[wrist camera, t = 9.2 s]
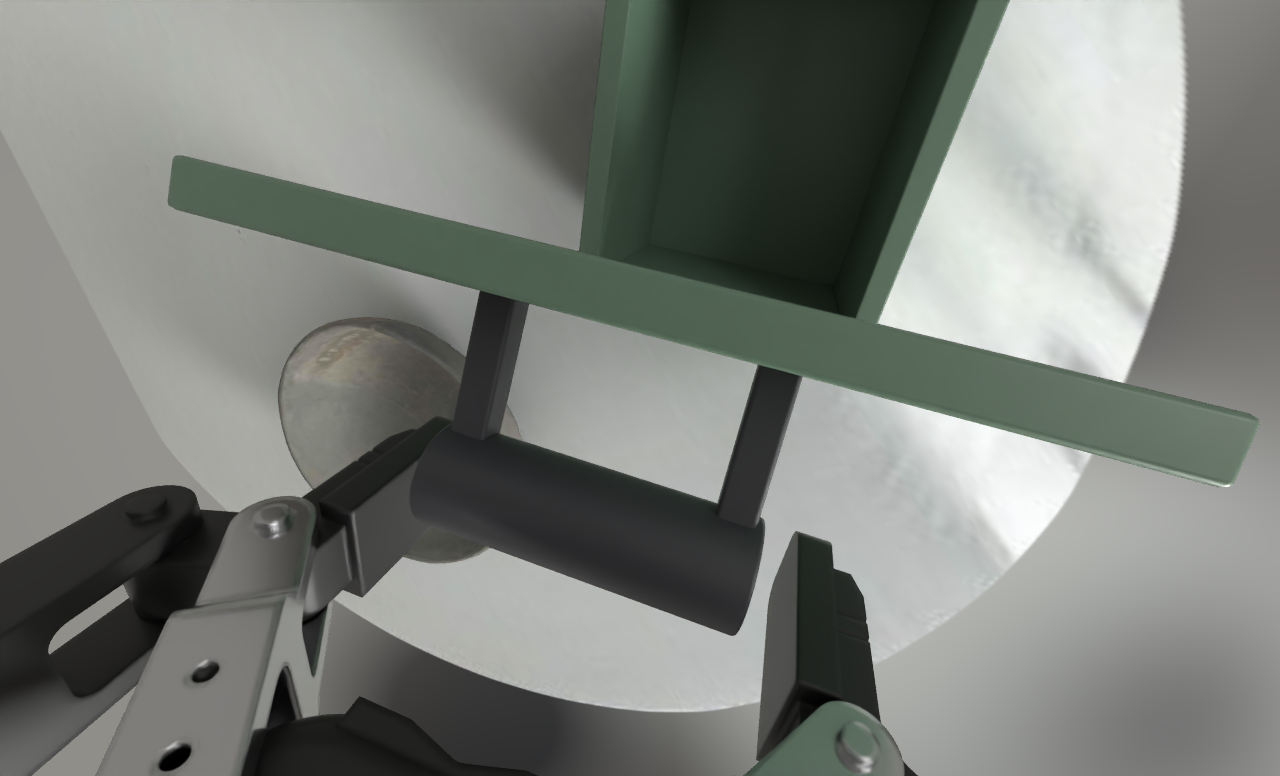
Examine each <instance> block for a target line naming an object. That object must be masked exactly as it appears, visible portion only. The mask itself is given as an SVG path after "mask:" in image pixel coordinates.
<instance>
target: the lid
mask: <svg viewBox="0 0 1280 776" xmlns="http://www.w3.org/2000/svg"><path fill="white" fill-rule="evenodd" d="M168 204H169V206H171V207H172V208H174V209H176V210H180V211H184V212H187V213H191V214H195V215H199V216H202V217H206V218H210V219H214V220H217V221H221V222H225V223H229V224H232V225H236V226H240V227H244V228H247V229H251V230H255V231H259V232H262V233H266V234H270V235H274V236H277V237H281V238H285V239H289V240H292V241H296V242H300V243H304V244H307V245H311V246H315V247H319V248H322V249H326V250H330V251H334V252H337V253H341V254H345V255H349V256H352V257H356V258H360V259H364V260H368V261H371V262H375V263H379V264H383V265H386V266H390V267H394V268H398V269H401V270H405V271H409V272H413V273H416V274H420V275H424V276H428V277H431V278H435V279H439V280H443V281H446V282H450V283H454V284H458V285H461V286H465V287H469V288H473V289H476V290H480V293H479V298H478V303H477V308H476V313H475V317H474V322H473V327H472V332H471V336H470V341H469V346H468V351H467V356H466V360H465V365H464V370H463V375H462V379H461V384H460V389H459V394H458V398H457V403H456V408H455V413H454V418H453V422H452V424H450V425H448V426H446V427H445V428H443V429H442V430H441V431H440V432H439V433H438V434H437V435H436V436H435V437H434V438H433V439H432V440H431V442H430V443H429V444H428V446H427V447H426V449H425V451H424V452H423V454H422V456H421V458H420V460H419V462H418V464H417V467H416V469H415V472H414V475H413V478H412V482H411V487H410V496H409V501H410V509H411V512H412V514H413V516H414V517H415V518H416V519H417V520H418V521H420V522H422V523H424V524H427V525H430V526H432V527H435V528H438V529H441V530H443V531H446V532H449V533H452V534H454V535H457V536H460V537H463V538H465V539H468V540H471V541H473V542H476V543H479V544H482V545H484V546H487V547H490V548H493V549H495V550H498V551H501V552H504V553H506V554H509V555H512V556H514V557H517V558H520V559H523V560H525V561H528V562H531V563H534V564H536V565H539V566H542V567H545V568H547V569H550V570H553V571H555V572H558V573H561V574H564V575H566V576H569V577H572V578H575V579H577V580H580V581H583V582H586V583H588V584H591V585H594V586H596V587H599V588H602V589H605V590H607V591H610V592H613V593H616V594H618V595H621V596H624V597H627V598H629V599H632V600H635V601H637V602H640V603H643V604H646V605H648V606H651V607H654V608H657V609H659V610H662V611H665V612H668V613H670V614H673V615H676V616H678V617H681V618H684V619H687V620H689V621H692V622H695V623H698V624H700V625H703V626H706V627H708V628H711V629H714V630H717V631H719V632H722V633H725V634H728V635H730V636H734V635H736V634H737V632H738V631H739V629H740V628H741V626H742V623H743V621H744V618H745V616H746V613H747V610H748V607H749V604H750V600H751V597H752V594H753V590H754V586H755V582H756V579H757V574H758V570H759V566H760V561H761V556H762V550H763V544H764V536H765V522H764V519H762V518H761V517H760V515H761V512H762V508H763V505H764V502H765V499H766V495H767V492H768V489H769V485H770V482H771V479H772V476H773V472H774V469H775V466H776V462H777V459H778V456H779V453H780V449H781V446H782V443H783V440H784V436H785V433H786V430H787V426H788V423H789V420H790V417H791V413H792V410H793V407H794V403H795V400H796V397H797V394H798V390H799V387H800V384H801V380H802V376H803V377H807V378H810V379H814V380H818V381H822V382H825V383H829V384H833V385H837V386H840V387H844V388H848V389H852V390H855V391H859V392H863V393H867V394H870V395H874V396H878V397H882V398H885V399H889V400H893V401H897V402H900V403H904V404H908V405H912V406H915V407H919V408H923V409H927V410H930V411H934V412H938V413H942V414H945V415H949V416H953V417H957V418H961V419H964V420H968V421H972V422H976V423H979V424H983V425H987V426H991V427H994V428H998V429H1002V430H1006V431H1009V432H1013V433H1017V434H1021V435H1024V436H1028V437H1032V438H1036V439H1039V440H1043V441H1047V442H1051V443H1054V444H1058V445H1062V446H1066V447H1069V448H1073V449H1077V450H1081V451H1084V452H1088V453H1092V454H1096V455H1099V456H1103V457H1107V458H1111V459H1114V460H1118V461H1122V462H1126V463H1129V464H1133V465H1137V466H1141V467H1144V468H1149V469H1152V470H1156V471H1160V472H1163V473H1167V474H1171V475H1175V476H1178V477H1182V478H1186V479H1190V480H1193V481H1197V482H1201V483H1204V484H1208V485H1212V486H1216V487H1229V486H1231V485H1232V484H1233V483H1234V482H1235V480H1236V477H1237V475H1238V473H1239V470H1240V468H1241V466H1242V463H1243V461H1244V459H1245V457H1246V455H1247V452H1248V450H1249V448H1250V445H1251V443H1252V441H1253V439H1254V436H1255V434H1256V432H1257V429H1258V427H1259V419H1257V418H1256V417H1254V416H1253V415H1251V414H1249V413H1244V412H1240V411H1236V410H1232V409H1228V408H1224V407H1220V406H1215V405H1212V404H1207V403H1203V402H1199V401H1195V400H1191V399H1187V398H1183V397H1178V396H1174V395H1170V394H1166V393H1162V392H1157V391H1154V390H1149V389H1145V388H1141V387H1137V386H1133V385H1129V384H1125V383H1121V382H1116V381H1112V380H1108V379H1104V378H1100V377H1096V376H1092V375H1087V374H1083V373H1079V372H1075V371H1071V370H1067V369H1063V368H1058V367H1054V366H1050V365H1046V364H1042V363H1038V362H1034V361H1030V360H1025V359H1021V358H1017V357H1013V356H1009V355H1005V354H1001V353H996V352H992V351H988V350H984V349H980V348H976V347H972V346H967V345H963V344H959V343H955V342H951V341H947V340H943V339H939V338H934V337H930V336H926V335H922V334H918V333H914V332H910V331H905V330H901V329H897V328H893V327H889V326H885V325H881V324H876V323H872V322H868V321H864V320H860V319H856V318H852V317H848V316H843V315H839V314H835V313H831V312H827V311H823V310H819V309H814V308H810V307H806V306H802V305H798V304H794V303H790V302H785V301H781V300H777V299H773V298H769V297H765V296H761V295H757V294H752V293H748V292H744V291H740V290H736V289H732V288H728V287H723V286H719V285H715V284H711V283H707V282H703V281H699V280H694V279H690V278H686V277H682V276H678V275H674V274H670V273H666V272H661V271H657V270H653V269H649V268H645V267H641V266H637V265H632V264H628V263H624V262H620V261H616V260H612V259H608V258H604V257H599V256H595V255H591V254H587V253H583V252H579V251H575V250H570V249H566V248H562V247H558V246H554V245H550V244H546V243H541V242H537V241H533V240H529V239H525V238H521V237H517V236H513V235H508V234H504V233H500V232H496V231H492V230H488V229H484V228H479V227H475V226H471V225H467V224H463V223H459V222H455V221H450V220H446V219H442V218H438V217H434V216H430V215H426V214H422V213H417V212H413V211H409V210H405V209H401V208H397V207H393V206H388V205H384V204H380V203H376V202H372V201H368V200H364V199H359V198H355V197H351V196H347V195H343V194H339V193H335V192H331V191H326V190H322V189H318V188H314V187H310V186H306V185H302V184H297V183H293V182H289V181H285V180H281V179H277V178H273V177H268V176H264V175H260V174H256V173H252V172H248V171H244V170H240V169H235V168H231V167H227V166H223V165H219V164H215V163H211V162H206V161H202V160H198V159H194V158H190V157H186V156H175V157H174V158H173V162H172V170H171V179H170V187H169V195H168ZM529 304H533V305H536V306H540V307H544V308H548V309H551V310H555V311H559V312H563V313H566V314H570V315H574V316H578V317H581V318H585V319H589V320H593V321H596V322H600V323H604V324H608V325H611V326H615V327H619V328H623V329H626V330H630V331H634V332H638V333H641V334H645V335H649V336H653V337H657V338H660V339H664V340H668V341H672V342H675V343H679V344H683V345H687V346H690V347H694V348H698V349H702V350H705V351H709V352H713V353H717V354H720V355H724V356H728V357H732V358H735V359H739V360H743V361H747V362H750V363H754V364H758V366H757V369H756V373H755V376H754V380H753V383H752V386H751V390H750V393H749V397H748V400H747V404H746V407H745V410H744V414H743V417H742V421H741V424H740V428H739V431H738V434H737V438H736V441H735V445H734V448H733V452H732V455H731V459H730V462H729V465H728V469H727V472H726V476H725V479H724V483H723V486H722V489H721V493H720V496H719V500H718V503H714V502H711V501H708V500H705V499H702V498H699V497H696V496H692V495H689V494H686V493H683V492H680V491H677V490H674V489H671V488H667V487H664V486H661V485H658V484H655V483H652V482H649V481H646V480H642V479H639V478H636V477H633V476H630V475H627V474H624V473H621V472H617V471H614V470H611V469H608V468H605V467H602V466H599V465H596V464H592V463H589V462H586V461H583V460H580V459H577V458H574V457H571V456H567V455H564V454H561V453H558V452H555V451H552V450H549V449H546V448H542V447H539V446H536V445H533V444H530V443H527V442H524V441H521V440H518V439H514V438H511V437H508V436H505V435H502V434H500V431H501V427H502V422H503V418H504V413H505V409H506V404H507V400H508V395H509V391H510V386H511V382H512V377H513V373H514V369H515V364H516V360H517V355H518V351H519V346H520V342H521V337H522V333H523V328H524V324H525V319H526V315H527V310H528V306H529Z"/></svg>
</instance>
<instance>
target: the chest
mask: <svg viewBox="0 0 1280 776" xmlns="http://www.w3.org/2000/svg"><path fill="white" fill-rule="evenodd" d="M1009 1H1010V0H606V7H605V16H604V25H603V35H602V44H601V53H600V63H599V72H598V81H597V91H596V100H595V109H594V118H593V128H592V137H591V146H590V156H589V165H588V174H587V184H586V193H585V202H584V212H583V221H582V230H581V239H580V249H579V252H583V253H587V254H591V255H595V256H599V257H604V258H608V259H612V260H616V261H620V262H624V263H628V264H632V265H637V266H641V267H645V268H649V269H653V270H657V271H661V272H666V273H670V274H674V275H678V276H682V277H686V278H690V279H694V280H699V281H703V282H707V283H711V284H715V285H719V286H723V287H728V288H732V289H736V290H740V291H744V292H748V293H752V294H757V295H761V296H765V297H769V298H773V299H777V300H781V301H785V302H790V303H794V304H798V305H802V306H806V307H810V308H814V309H819V310H823V311H827V312H831V313H835V314H839V315H843V316H848V317H852V318H856V319H860V320H864V321H868V322H872V323H876V324H878V321H879V319H880V316H881V314H882V311H883V309H884V306H885V304H886V302H887V299H888V297H889V294H890V292H891V289H892V287H893V284H894V282H895V280H896V277H897V275H898V272H899V270H900V267H901V265H902V263H903V260H904V258H905V255H906V253H907V250H908V248H909V245H910V243H911V241H912V238H913V236H914V233H915V231H916V228H917V226H918V223H919V221H920V219H921V216H922V214H923V211H924V209H925V206H926V204H927V201H928V199H929V197H930V194H931V192H932V189H933V187H934V184H935V182H936V180H937V177H938V175H939V172H940V170H941V167H942V165H943V162H944V160H945V158H946V155H947V153H948V150H949V148H950V145H951V143H952V140H953V138H954V136H955V133H956V131H957V128H958V126H959V123H960V121H961V118H962V116H963V114H964V111H965V109H966V106H967V104H968V101H969V99H970V97H971V94H972V92H973V89H974V87H975V84H976V82H977V79H978V77H979V75H980V72H981V70H982V67H983V65H984V62H985V60H986V57H987V55H988V53H989V50H990V48H991V45H992V43H993V40H994V38H995V36H996V33H997V31H998V28H999V26H1000V23H1001V21H1002V18H1003V16H1004V14H1005V11H1006V9H1007V6H1008V4H1009Z"/></svg>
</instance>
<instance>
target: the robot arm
mask: <svg viewBox="0 0 1280 776" xmlns="http://www.w3.org/2000/svg"><path fill="white" fill-rule="evenodd" d="M452 422H453V420H452V419H449V418H446V417H442V416H436V417H434V418H432V419H431V420H429V421H428V422H427V423H425V424H424V425H422V426H421V427H420V428H418V429H417V430H415V429H409V430H406V431H403V432H400V433H398V434H395V435H392V436H390V437H388V438H387V439H385V440H384V441H382V442H381V443H379V444H378V445H377V446H375V447H374V448H373V449H372V451H368V452H367V453H365V454H364V455H362V456H361V457H359V459H358V461H354V462H352V463H351V464H349V465H348V466H346V467H345V468H344V469H342V470H341V471H339V472H338V473H336V474H335V475H333V476H332V477H331V478H329V479H328V480H326V481H325V482H323V483H322V484H321V485H319V486H318V487H316V488H315V489H313V490H312V491H310V492H309V493H308V494H306V495H305V496H303V497H302V498H301V497H295V496H281V497H274V498H270V499H266V500H263V501H260V502H257V503H255V504H252V505H251V506H249V507H247V508H245V509H244V510H242V511H241V512H226V511H212V510H200V507H199V504H198V501H197V498H196V495H195V493H194V492H193V491H192V490H190V489H188V488H186V487H182V486H175V485H164V486H156V487H150V488H146V489H142V490H139V491H135V492H132V493H130V494H127V495H125V496H123V497H121V498H119V499H117V500H115V501H113V502H111V503H109V504H107V505H106V506H104V507H102V508H100V509H98V510H97V511H95V512H93V513H91V514H89V515H87V516H86V517H84V518H82V519H80V520H78V521H76V522H75V523H73V524H71V525H69V526H67V527H66V528H64V529H62V530H60V531H58V532H56V533H55V534H53V535H51V536H49V537H47V538H46V539H44V540H42V541H40V542H38V543H36V544H35V545H33V546H31V547H29V548H27V549H26V550H24V551H22V552H20V553H18V554H16V555H15V556H13V557H11V558H9V559H7V560H5V561H4V562H2V563H0V776H31V775H33V774H34V773H35V772H36V771H37V770H38V769H40V768H41V767H42V766H43V765H44V764H45V763H46V762H48V761H49V760H50V759H51V758H52V757H53V756H55V755H56V754H57V753H58V752H59V751H61V750H62V749H63V748H64V747H65V746H66V745H67V744H69V743H70V742H71V741H72V740H73V739H74V738H76V737H77V736H78V735H79V734H80V733H81V732H83V731H84V730H85V729H86V728H87V727H88V726H89V725H91V724H92V723H93V722H94V721H95V720H97V719H98V718H99V717H100V716H101V715H102V714H103V713H105V712H106V711H107V710H108V709H109V708H111V706H113V705H114V704H115V703H116V702H117V701H119V700H120V699H121V698H122V697H123V696H124V695H126V694H127V693H128V692H129V691H130V690H131V689H133V687H135V686H136V685H137V686H136V689H135V691H134V693H133V695H132V697H131V699H130V701H129V704H128V706H127V708H126V711H125V712H124V714H123V717H122V719H121V721H120V723H119V725H118V727H117V729H116V732H115V734H114V736H113V738H112V741H111V743H110V745H109V747H108V749H107V751H106V753H105V755H104V758H103V760H102V762H101V764H100V766H99V768H98V771H97V773H96V775H95V776H537V775H534V774H532V773H530V772H528V771H524V770H516V769H507V768H498V767H489V766H480V765H472V764H464V763H460V762H457V761H455V760H454V759H453V758H452V757H451V756H449V755H448V754H447V753H446V752H445V751H444V750H443V749H442V748H441V747H440V746H439V745H438V744H437V743H436V742H435V741H433V739H431V738H430V737H429V736H428V735H427V734H426V733H425V732H424V731H423V730H422V729H421V728H420V727H419V726H417V724H416V723H415V722H414V721H412V720H411V719H409V718H407V717H405V716H402V715H400V714H398V713H396V712H394V711H391V710H389V709H387V708H385V707H382V706H380V705H378V704H376V703H373V702H371V701H369V700H367V699H365V698H362V697H359V698H358V699H357V700H356V701H355V703H354V704H353V705H352V706H351V708H350V709H349V710H348V711H347V713H346V714H326V715H320V709H319V708H320V707H319V696H320V685H321V678H322V672H323V666H324V660H325V654H326V648H327V641H328V635H329V629H330V623H331V617H332V610H333V604H332V600H333V599H334V598H335V597H336V596H337V595H338V594H339V593H340V592H341V591H342V590H345V591H347V592H350V593H352V594H355V595H357V596H360V597H363V596H364V595H365V594H366V593H367V592H368V591H369V590H370V589H371V588H372V587H373V586H374V585H375V584H376V583H377V582H378V581H379V580H380V579H381V578H382V577H383V576H384V575H385V574H386V573H387V572H388V571H389V570H390V569H391V568H392V567H393V566H394V565H395V564H396V563H397V562H398V561H399V560H400V559H401V558H402V557H403V556H404V555H405V554H406V553H407V552H408V551H409V550H410V549H411V548H412V546H413V545H414V544H415V543H416V542H417V541H418V540H419V539H420V538H421V537H422V536H423V535H424V534H425V533H426V532H427V531H428V530H429V529H430V528H431V527H432V526H430V525H427V524H424V523H422V522H420V521H418V520H417V519H416V518H415V517H414V516H413V514H412V512H411V509H410V501H409V496H410V487H411V482H412V478H413V475H414V472H415V469H416V467H417V464H418V462H419V460H420V458H421V456H422V454H423V452H424V451H425V449H426V447H427V446H428V444H429V443H430V442H431V440H432V439H433V438H434V437H435V436H436V435H437V434H438V433H439V432H440V431H441V430H442V429H443V428H445V427H446V426H448V425H450V424H452ZM122 584H123V585H124V587H125V589H126V592H127V594H128V596H129V598H128V599H127V600H126V601H124V602H123V603H121V604H120V605H119V606H117V607H116V608H115V609H113V610H112V611H110V612H109V613H107V614H106V615H105V616H103V617H102V618H100V619H99V620H98V621H96V622H95V623H93V624H92V625H90V626H89V627H88V628H86V629H85V630H83V631H82V632H81V633H79V634H78V635H77V636H75V637H74V638H72V639H71V640H69V641H68V642H67V643H65V644H64V645H62V646H61V647H60V648H58V649H57V650H55V651H54V652H53V653H51V654H50V655H49V653H48V647H49V644H50V641H51V640H52V638H53V636H54V635H55V634H56V632H57V631H58V630H59V629H60V628H61V627H62V626H63V625H64V624H66V623H67V622H68V621H70V620H71V619H73V618H74V617H75V616H77V615H78V614H80V613H81V612H83V611H84V610H86V609H87V608H88V607H90V606H92V605H93V604H94V603H96V602H97V601H99V600H100V599H102V598H103V597H105V596H106V595H108V594H109V593H111V592H112V591H113V590H115V589H116V588H118V587H119V586H121V585H122ZM868 640H869V634H868V626H867V624H866V611H865V604H864V597H863V595H862V593H861V591H860V590H859V588H858V586H857V584H856V583H855V581H854V579H853V577H852V576H851V574H848V573H845V572H842V571H839V570H836V569H834V568H833V554H832V545H831V543H830V542H828V541H825V540H822V539H819V538H816V537H813V536H810V535H807V534H804V533H800V532H797V531H796V532H795V533H794V534H793V536H792V538H791V541H790V543H789V546H788V548H787V550H786V553H785V555H784V558H783V560H782V563H781V565H780V567H779V570H778V572H777V575H776V577H775V580H774V583H773V586H772V589H771V593H770V598H769V604H768V614H767V627H766V640H765V653H764V666H763V679H762V692H761V705H760V718H759V732H758V744H757V757H756V758H757V759H756V760H758V761H759V762H758V763H757V764H756V765H755V766H754V767H753V768H752V769H751V770H750V771H748V772H747V773H746V774H745V775H743V776H917V775H916V774H915V773H914V772H913V771H912V770H911V769H910V768H909V767H908V766H907V765H906V764H905V763H904V761H903V760H902V756H901V753H900V751H899V749H898V746H897V745H896V743H895V741H894V739H893V737H892V736H891V735H890V733H889V732H888V731H887V729H886V728H885V727H884V726H883V725H882V724H881V720H880V715H879V708H878V700H877V693H876V685H875V678H874V671H873V663H872V656H871V648H870V643H869V642H868Z"/></svg>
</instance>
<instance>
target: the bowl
mask: <svg viewBox="0 0 1280 776" xmlns="http://www.w3.org/2000/svg"><path fill="white" fill-rule="evenodd" d="M465 360H466V358H465V357H464V356H463V355H461V354H460V353H459V352H458V351H456V350H455V349H454V348H452V347H451V346H450V345H448V344H447V343H445V342H444V341H442V340H441V339H439V338H438V337H436V336H434V335H433V334H431V333H429V332H427V331H425V330H423V329H421V328H419V327H416V326H413V325H410V324H406V323H403V322H399V321H394V320H390V319H385V318H372V317H364V318H351V319H345V320H339V321H335V322H331V323H328V324H326V325H323V326H321V327H319V328H317V329H315V330H314V331H312V332H311V333H309V334H308V335H307V336H306V337H304V338H303V339H302V340H301V341H300V342H299V343H298V344H297V346H296V347H295V348H294V350H293V351H292V353H291V354H290V356H289V358H288V359H287V361H286V364H285V366H284V368H283V371H282V377H281V379H280V384H279V389H278V404H279V413H280V419H281V424H282V429H283V432H284V436H285V439H286V443H287V446H288V448H289V451H290V453H291V456H292V458H293V460H294V461H295V463H296V465H297V467H298V469H299V471H300V472H301V474H302V475H303V477H304V479H305V480H306V481H307V483H308V484H309V485H310V487H311V488H312V489H315V488H316V487H318V486H319V485H321V484H322V483H323V482H325V481H326V480H328V479H329V478H331V477H332V476H333V475H335V474H336V473H338V472H339V471H341V470H342V469H344V468H345V467H346V466H348V465H349V464H351V463H352V462H354V461H358V459H359V457H361V456H362V455H364V454H365V453H367V452H368V451H372V449H373V448H374V447H375V446H377V445H378V444H379V443H381V442H382V441H384V440H385V439H387V438H388V437H390V436H392V435H395V434H398V433H400V432H403V431H406V430H409V429H415V430H417V429H418V428H420V427H421V426H422V425H424V424H425V423H427V422H428V421H429V420H431V419H432V418H434V417H436V416H442V417H446V418H449V419H452V420H453V418H454V413H455V408H456V403H457V398H458V394H459V389H460V384H461V379H462V375H463V370H464V365H465ZM500 434H502V435H505V436H508V437H511V438H514V439H518V440H521V441H522V439H521V435H520V431H519V428H518V426H517V423H516V421H515V418H514V416H513V414H512V413H511V411H510V409H509V408H508V406H507V404H506V409H505V413H504V418H503V422H502V427H501V431H500ZM489 548H490V547H487V546H484V545H482V544H479V543H476V542H473V541H471V540H468V539H465V538H463V537H460V536H457V535H454V534H452V533H449V532H446V531H443V530H441V529H438V528H435V527H431V528H430V529H429V530H428V531H427V532H426V533H425V534H424V535H423V536H422V537H421V538H420V539H419V540H418V541H417V542H416V543H415V544H414V545H413V546H412V548H411V549H410V550H409V551H408V552H407V553H406V554H405V555H404V556H403V557H405V558H409V559H412V560H416V561H420V562H426V563H451V562H457V561H461V560H465V559H469V558H472V557H474V556H477V555H479V554H481V553H483V552H484V551H486V550H488V549H489Z"/></svg>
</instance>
